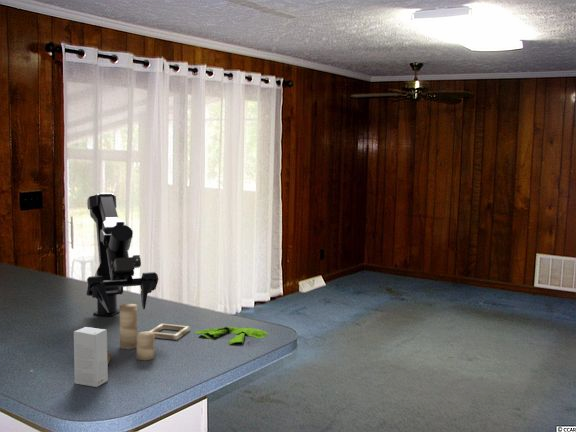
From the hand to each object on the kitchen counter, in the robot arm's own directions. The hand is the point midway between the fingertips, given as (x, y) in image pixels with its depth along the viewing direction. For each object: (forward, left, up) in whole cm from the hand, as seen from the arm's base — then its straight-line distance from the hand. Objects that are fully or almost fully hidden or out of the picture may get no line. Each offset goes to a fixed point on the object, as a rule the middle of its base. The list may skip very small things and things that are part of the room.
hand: (126, 310), depth 155 cm
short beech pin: (+8, +9, -9) cm, 15 cm away
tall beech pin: (+2, +1, -9) cm, 10 cm away
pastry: (+15, 0, -10) cm, 18 cm away
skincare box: (+26, +5, -9) cm, 28 cm away
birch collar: (-12, +7, -9) cm, 16 cm away
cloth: (-14, +23, -10) cm, 29 cm away
